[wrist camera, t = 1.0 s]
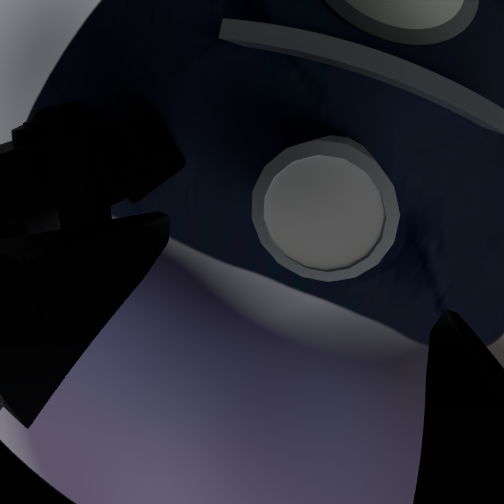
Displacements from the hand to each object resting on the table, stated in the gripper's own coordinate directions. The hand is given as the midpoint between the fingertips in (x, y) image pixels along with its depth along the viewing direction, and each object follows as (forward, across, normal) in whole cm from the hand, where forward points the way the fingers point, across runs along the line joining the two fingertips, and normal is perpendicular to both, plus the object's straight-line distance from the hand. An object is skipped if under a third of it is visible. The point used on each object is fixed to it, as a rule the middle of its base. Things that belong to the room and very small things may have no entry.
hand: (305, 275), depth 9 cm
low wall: (+12, 0, -7) cm, 14 cm away
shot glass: (+13, 0, 0) cm, 13 cm away
